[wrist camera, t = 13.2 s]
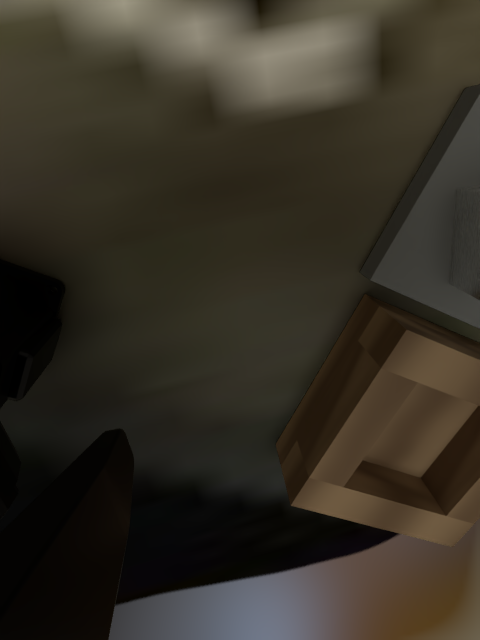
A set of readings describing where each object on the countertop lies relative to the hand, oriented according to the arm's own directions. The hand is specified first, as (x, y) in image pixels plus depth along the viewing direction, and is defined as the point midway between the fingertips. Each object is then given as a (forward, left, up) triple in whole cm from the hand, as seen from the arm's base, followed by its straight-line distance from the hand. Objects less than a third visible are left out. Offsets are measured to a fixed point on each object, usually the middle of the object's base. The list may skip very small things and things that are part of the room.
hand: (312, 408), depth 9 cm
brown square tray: (+13, -5, -13) cm, 19 cm away
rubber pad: (+11, +7, -13) cm, 18 cm away
